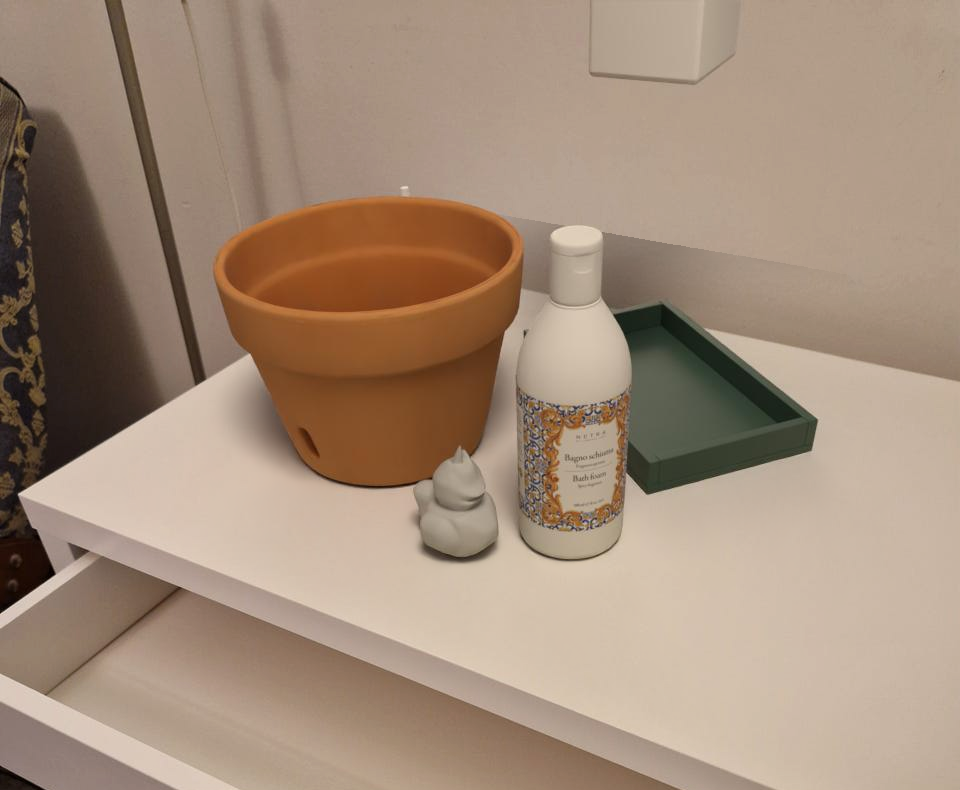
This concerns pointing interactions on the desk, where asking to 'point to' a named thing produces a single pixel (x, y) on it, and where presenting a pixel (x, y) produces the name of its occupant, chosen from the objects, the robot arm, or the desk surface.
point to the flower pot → (375, 327)
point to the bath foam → (573, 408)
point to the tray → (699, 403)
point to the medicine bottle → (661, 38)
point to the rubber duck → (456, 508)
